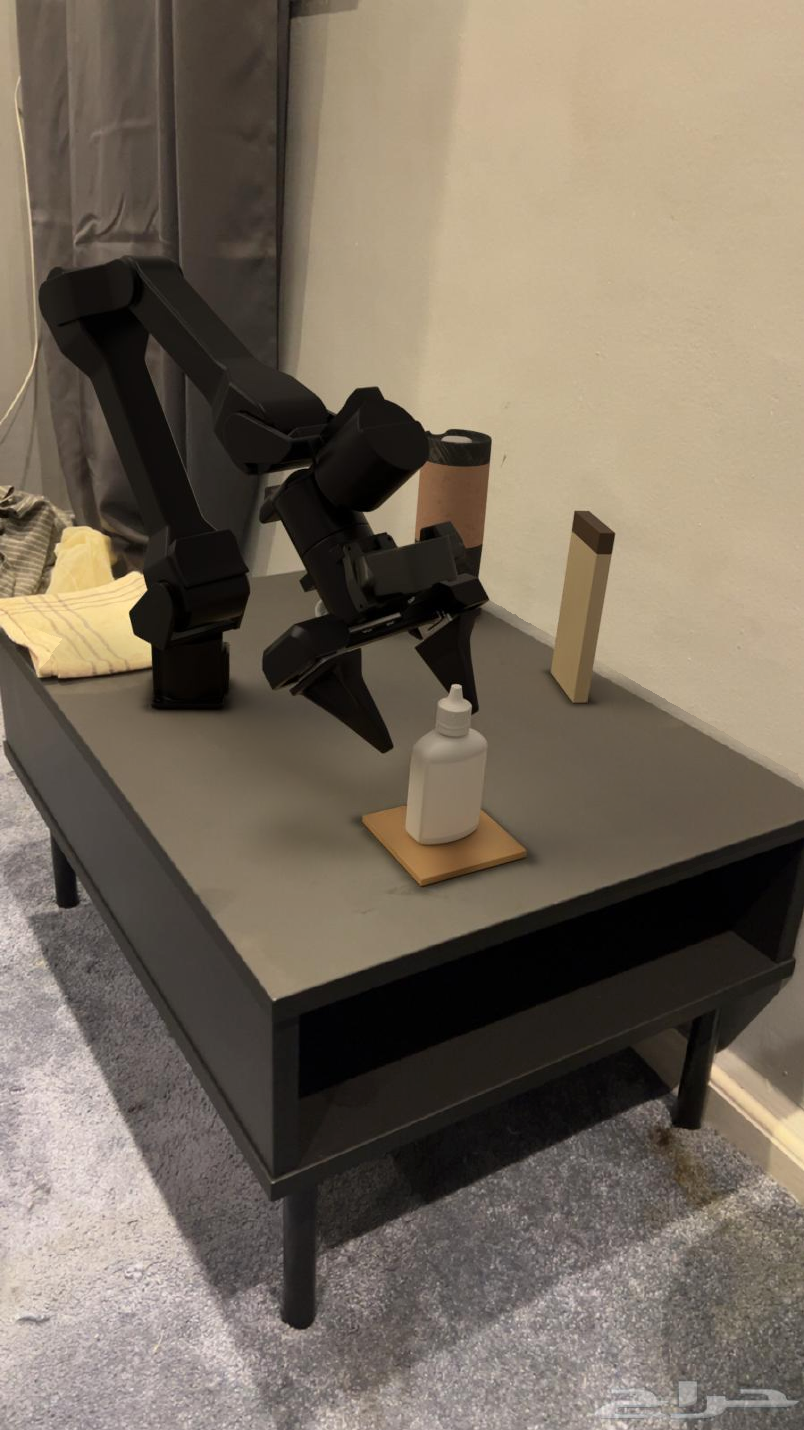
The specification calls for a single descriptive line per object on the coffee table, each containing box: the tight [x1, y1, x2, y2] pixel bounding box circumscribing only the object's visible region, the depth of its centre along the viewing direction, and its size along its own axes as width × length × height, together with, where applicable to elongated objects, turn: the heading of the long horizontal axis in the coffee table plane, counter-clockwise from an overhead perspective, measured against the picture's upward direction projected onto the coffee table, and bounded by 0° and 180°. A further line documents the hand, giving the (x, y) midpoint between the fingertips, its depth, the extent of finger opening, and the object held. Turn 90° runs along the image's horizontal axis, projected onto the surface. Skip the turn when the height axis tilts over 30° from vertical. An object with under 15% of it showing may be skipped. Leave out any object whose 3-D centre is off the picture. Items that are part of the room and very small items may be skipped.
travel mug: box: [414, 428, 493, 599], centre depth 117 cm, size 8×8×20 cm
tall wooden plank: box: [550, 510, 616, 704], centre depth 101 cm, size 2×7×17 cm, turn 10°
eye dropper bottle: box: [405, 684, 488, 845], centre depth 76 cm, size 4×6×12 cm
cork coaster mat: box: [362, 804, 528, 887], centre depth 79 cm, size 9×9×1 cm
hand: (432, 731), depth 76 cm, fingers open, 9 cm apart
